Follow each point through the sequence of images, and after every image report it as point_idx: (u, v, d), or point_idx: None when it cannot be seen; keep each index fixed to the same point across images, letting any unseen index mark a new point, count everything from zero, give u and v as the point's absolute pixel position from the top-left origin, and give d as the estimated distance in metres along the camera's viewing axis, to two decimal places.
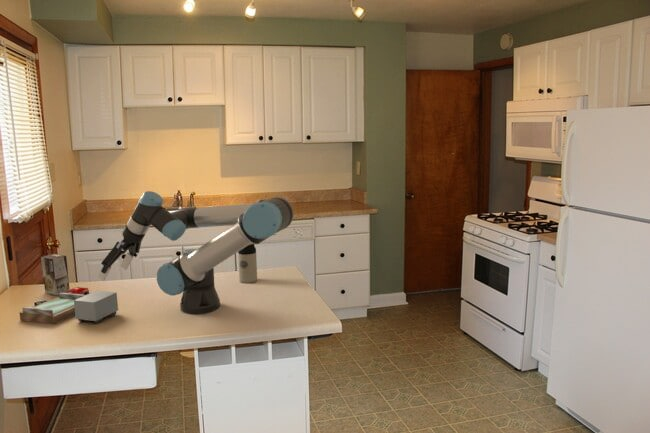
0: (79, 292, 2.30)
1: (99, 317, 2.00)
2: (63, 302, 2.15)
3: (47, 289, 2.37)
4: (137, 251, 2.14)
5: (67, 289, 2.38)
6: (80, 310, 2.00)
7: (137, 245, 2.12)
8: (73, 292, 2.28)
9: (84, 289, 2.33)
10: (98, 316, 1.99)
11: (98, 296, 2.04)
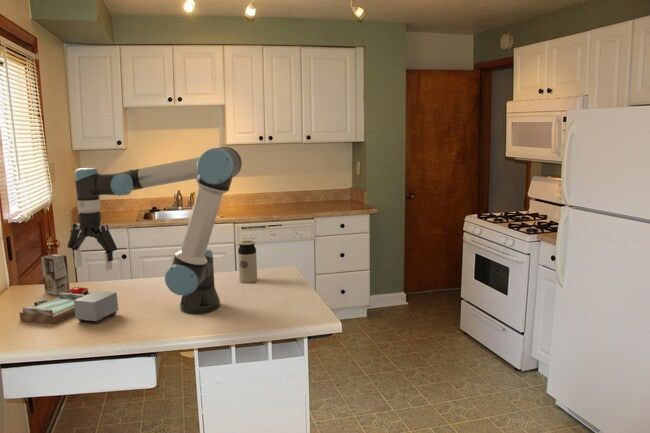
0: (79, 292, 2.30)
1: (99, 317, 2.00)
2: (63, 302, 2.15)
3: (47, 289, 2.37)
4: None
5: (67, 289, 2.38)
6: (80, 310, 2.00)
7: (77, 235, 2.03)
8: (73, 292, 2.28)
9: (84, 289, 2.33)
10: (98, 316, 1.99)
11: (98, 296, 2.04)
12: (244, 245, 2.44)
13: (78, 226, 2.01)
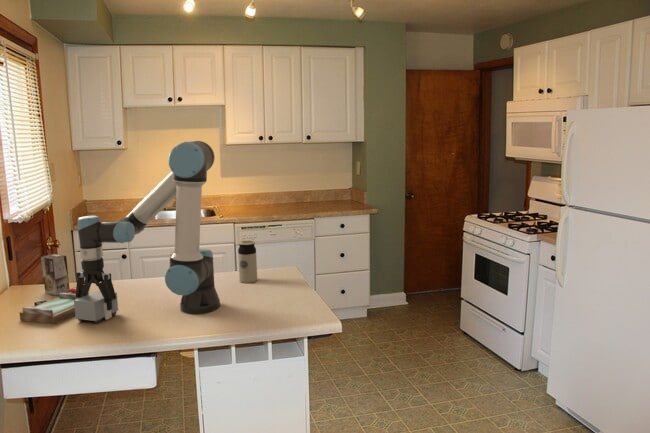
0: None
1: (99, 317, 2.00)
2: (63, 302, 2.15)
3: (47, 289, 2.37)
4: None
5: (67, 289, 2.38)
6: (80, 310, 2.00)
7: (82, 283, 2.06)
8: (73, 292, 2.28)
9: None
10: (97, 316, 1.99)
11: (98, 296, 2.04)
12: (244, 245, 2.44)
13: (81, 274, 2.04)
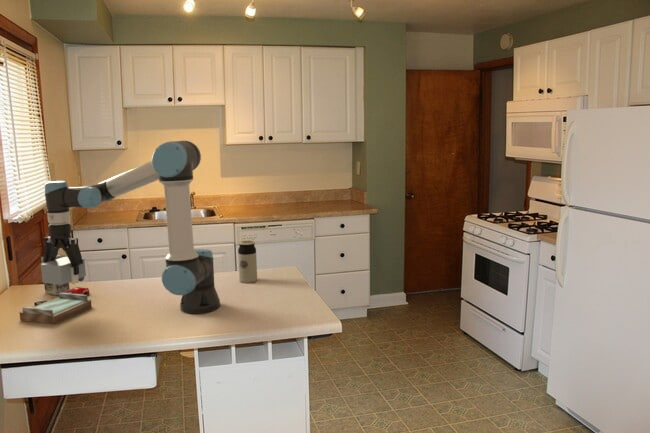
0: (79, 292, 2.30)
1: (66, 281, 2.02)
2: (63, 302, 2.15)
3: (47, 289, 2.37)
4: None
5: (67, 289, 2.38)
6: (46, 274, 2.02)
7: (50, 249, 2.08)
8: (73, 292, 2.28)
9: (84, 289, 2.33)
10: (64, 280, 2.01)
11: (65, 261, 2.06)
12: (244, 245, 2.44)
13: (49, 239, 2.06)
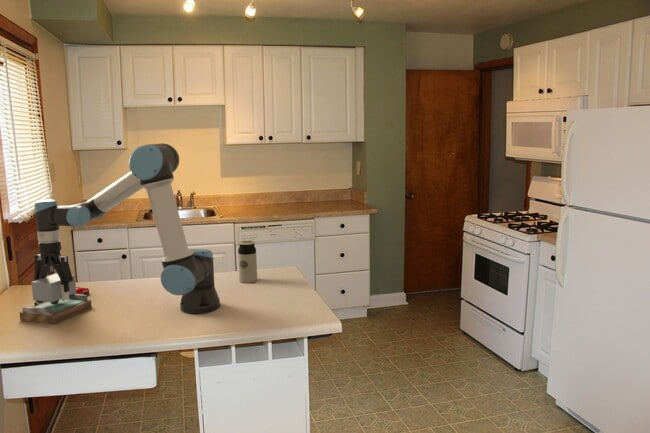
0: (79, 292, 2.30)
1: (56, 298, 2.05)
2: (63, 302, 2.15)
3: None
4: None
5: None
6: (37, 291, 2.05)
7: (41, 266, 2.11)
8: None
9: (84, 289, 2.33)
10: (54, 297, 2.04)
11: (55, 278, 2.09)
12: (244, 245, 2.44)
13: (39, 257, 2.09)
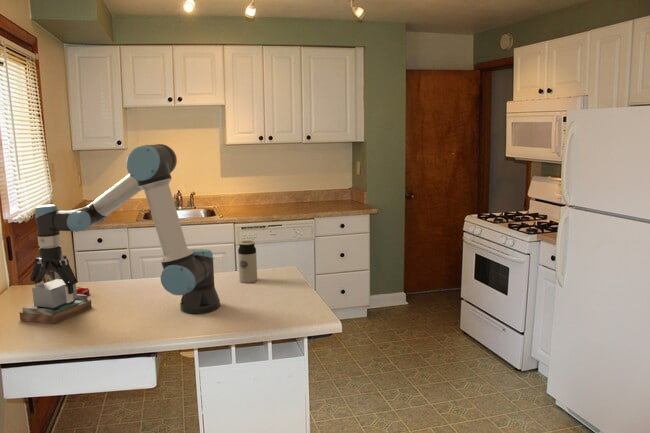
0: (79, 292, 2.30)
1: (56, 304, 2.05)
2: None
3: None
4: None
5: None
6: (37, 297, 2.05)
7: (39, 269, 2.11)
8: None
9: (84, 289, 2.33)
10: (55, 303, 2.05)
11: (56, 284, 2.09)
12: (244, 245, 2.44)
13: (40, 260, 2.09)
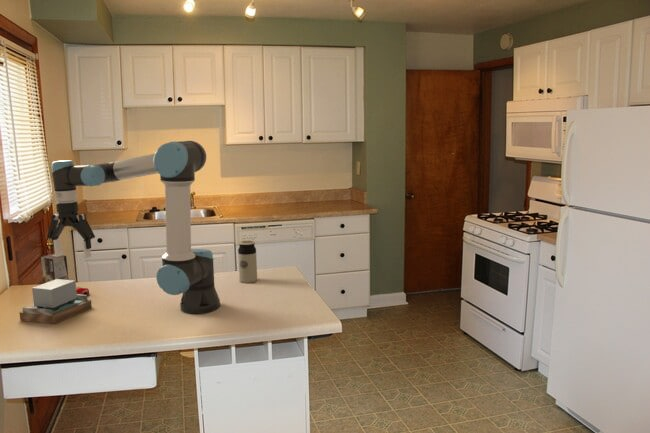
0: (78, 292, 2.30)
1: (56, 304, 2.05)
2: None
3: None
4: None
5: None
6: (37, 297, 2.05)
7: (56, 225, 2.12)
8: None
9: (84, 289, 2.32)
10: (55, 303, 2.05)
11: (56, 284, 2.09)
12: (244, 245, 2.44)
13: (56, 216, 2.10)
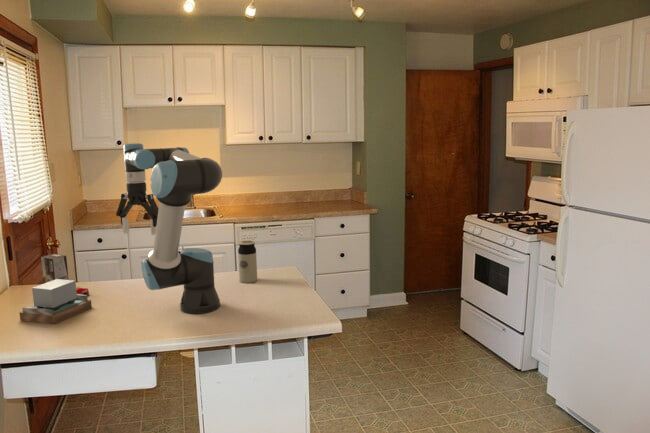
0: (78, 293, 2.29)
1: (56, 304, 2.05)
2: None
3: None
4: None
5: None
6: (37, 297, 2.05)
7: (124, 204, 2.27)
8: None
9: (83, 290, 2.32)
10: (55, 303, 2.05)
11: (56, 284, 2.09)
12: (244, 245, 2.44)
13: (126, 196, 2.24)
